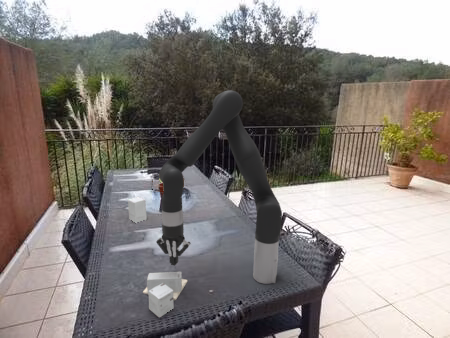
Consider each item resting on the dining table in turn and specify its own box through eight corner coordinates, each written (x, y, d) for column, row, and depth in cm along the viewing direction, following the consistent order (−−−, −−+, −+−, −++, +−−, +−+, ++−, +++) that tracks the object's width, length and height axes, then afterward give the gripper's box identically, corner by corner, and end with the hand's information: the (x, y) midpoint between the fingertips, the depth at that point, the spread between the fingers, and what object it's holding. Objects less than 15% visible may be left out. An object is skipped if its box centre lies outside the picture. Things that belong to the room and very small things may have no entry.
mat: (187, 281, 112) (187, 280, 111) (175, 300, 101) (175, 298, 101) (157, 275, 115) (157, 274, 115) (142, 293, 104) (142, 291, 104)
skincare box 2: (159, 318, 93) (158, 299, 91) (148, 309, 97) (147, 290, 95) (174, 308, 97) (173, 290, 95) (163, 300, 101) (162, 282, 99)
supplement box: (147, 220, 164) (146, 199, 161) (135, 224, 159) (134, 202, 156) (140, 216, 169) (139, 196, 166) (128, 220, 164) (127, 199, 161)
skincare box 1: (181, 271, 107) (148, 271, 106) (181, 278, 103) (146, 279, 102) (181, 285, 109) (149, 285, 107) (181, 293, 104) (147, 293, 103)
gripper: (193, 218, 103) (194, 261, 107) (160, 214, 106) (162, 256, 111) (185, 227, 96) (186, 273, 100) (150, 223, 99) (152, 266, 104)
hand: (174, 264), depth 106 cm, fingers closed
